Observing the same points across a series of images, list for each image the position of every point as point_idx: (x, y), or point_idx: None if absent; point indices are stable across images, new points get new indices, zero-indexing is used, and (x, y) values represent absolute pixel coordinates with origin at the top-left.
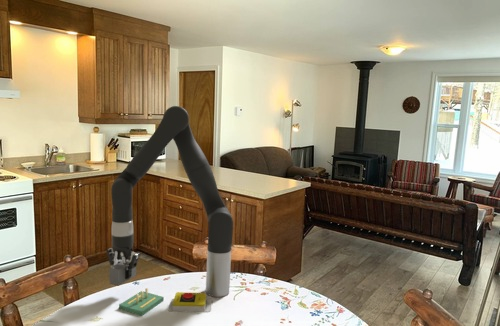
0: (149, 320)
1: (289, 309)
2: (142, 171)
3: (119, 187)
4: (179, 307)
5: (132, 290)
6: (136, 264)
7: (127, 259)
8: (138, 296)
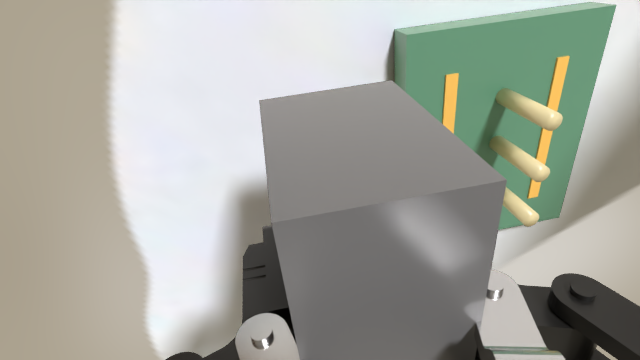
0: (591, 206)
1: None
2: None
3: None
4: None
5: (277, 18)
6: (635, 312)
7: (303, 246)
8: (528, 207)
